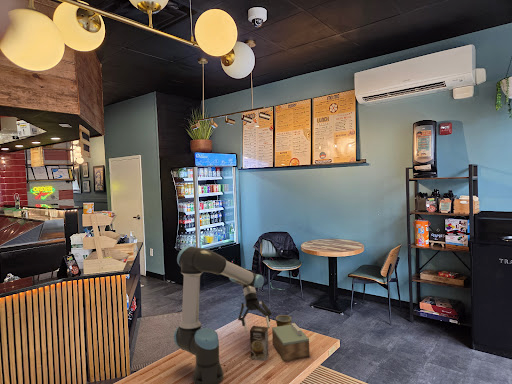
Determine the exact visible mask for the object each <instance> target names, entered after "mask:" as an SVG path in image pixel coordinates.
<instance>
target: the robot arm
mask: <svg viewBox="0 0 512 384" xmlns="http://www.w3.org/2000/svg"><path fill="white" fill-rule="evenodd" d="M176 262H177V264H178V266H179V267H180V274H182V275H183V285H182V286H183V287H182V307H181V308H182V309H181V310H182V311H181V312H182V313H181V321H180V322H179V324H178V326H177V327H176V328H175V329H176V330H174V333H173V341H174V343H175V345H176V346H177V347H178V348H179V349H181V350H182V351H186V352H187V353H189V354H192V355H195V367H194V371H193V375H192V381H193V384H220V383H221V382H222V381H223V379H224V370H223V367H222V365H221V363H220V340H219V335H218V332H217V331H216V330H215V329H213V328H209V327H207V328H206V327H205V328H204V327H203V328H202V323H201V322H200V320H199V311H200V309H199V308H200V285H201V284H200V283H201V275H202V274H203V273H204V272H205V273H211V274H215V275H222V276H224V277H228V279H229V280H230V282H232V283H236V284H238V285H241V287H242V290H243V295H244V301H245V303H244V302H242V303H241V304H240V307H241V308H240V311H239V315H238V319H237V321H241V324H242V326H243V327H244V330H245V331H244V332H245V333H247V332H248V326H247V321H246V319H245V318H246V317H247V315H248V313H249V311H250V312H251V311H256V310H257V311H259V312H260V313H261V314H263V315H264V316H265V321H266V325H267V326H266V327H268V330H269V329H270V328H271V325H270V324H271V323H270V322H271V318H270V317H271V316H272V313H273V312H271V310H270V309H269V308H268V306H267V305H266V304H265V302H264V300H261V301H259V299H258V296H257V291H256V288H258V289H259V288H262V287H263V285H264V283H265V277H264V276H263V275H261V274H259V273H258V274H257V273H255V272H252V271H250V270H248V269H245V268H243V267H241V266H239V265H237V264H234V263H233V262H230V261H228V260H227V259H226V257H224V256H222V255H220V254H218V253H217V252H214V251H212V250H210V249H208V248H201V247H197V246H184V247H183V248H181V250H179V252H178V254H177V258H176ZM245 307H246V310H245V311H244V308H245ZM243 311H244V314H243Z"/></svg>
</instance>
